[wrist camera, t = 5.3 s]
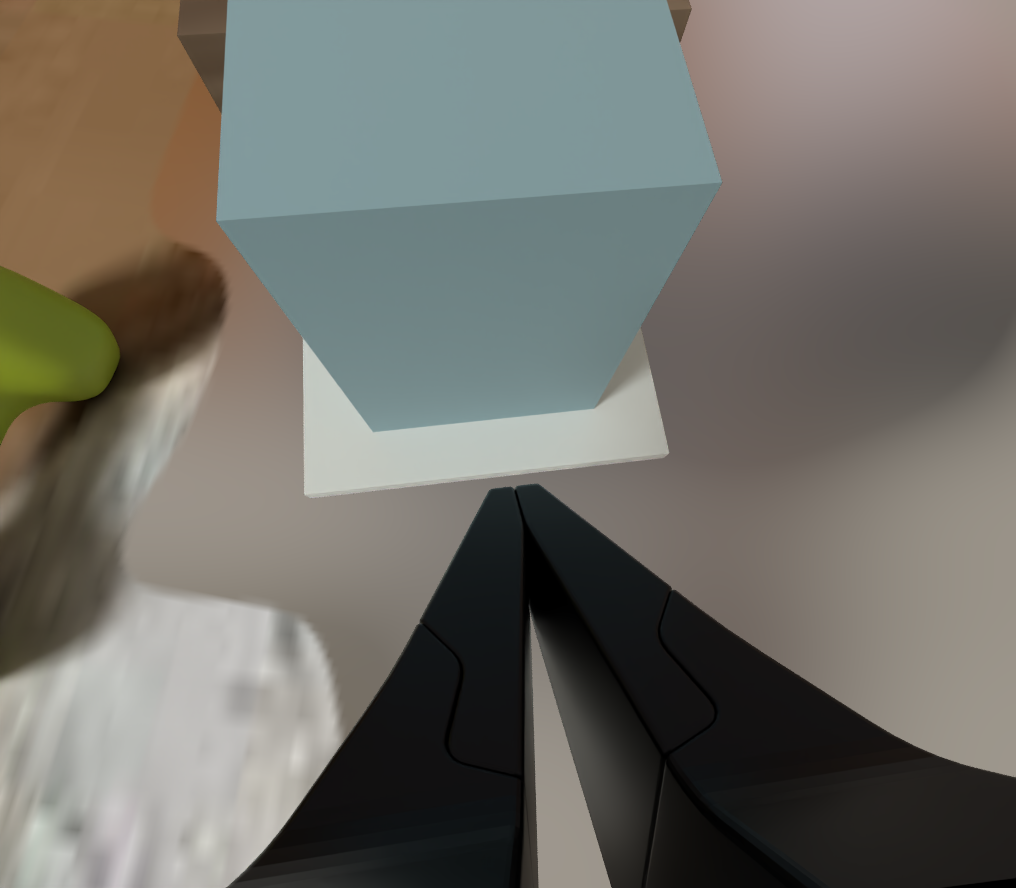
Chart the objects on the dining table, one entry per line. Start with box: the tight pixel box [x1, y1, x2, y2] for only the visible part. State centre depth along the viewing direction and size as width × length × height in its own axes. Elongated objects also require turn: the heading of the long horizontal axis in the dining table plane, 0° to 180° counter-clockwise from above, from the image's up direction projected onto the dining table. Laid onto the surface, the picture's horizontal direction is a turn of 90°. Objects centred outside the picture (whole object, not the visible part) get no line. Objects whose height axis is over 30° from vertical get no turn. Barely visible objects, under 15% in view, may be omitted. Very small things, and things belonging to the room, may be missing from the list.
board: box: [177, 0, 692, 114], centre depth 23 cm, size 2×20×8 cm, turn 97°
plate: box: [303, 327, 669, 498], centre depth 24 cm, size 16×16×1 cm
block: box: [216, 0, 722, 432], centre depth 17 cm, size 9×10×13 cm
